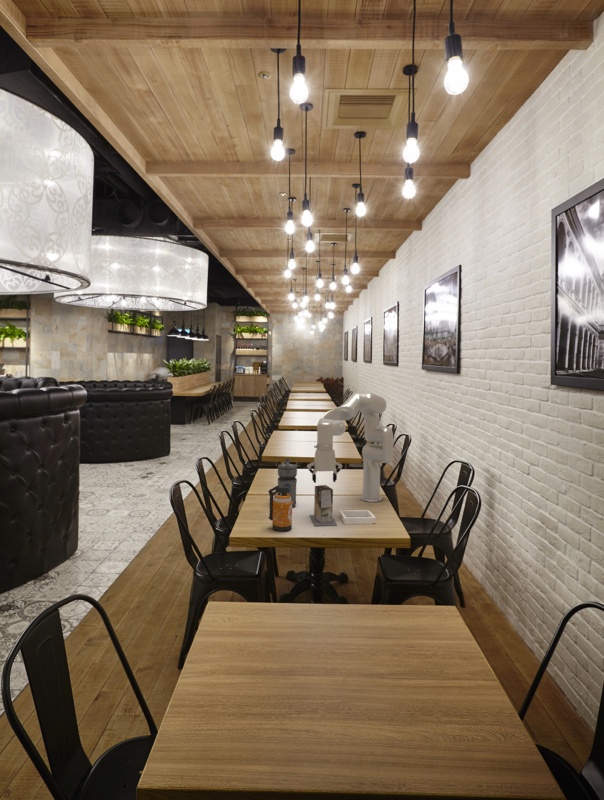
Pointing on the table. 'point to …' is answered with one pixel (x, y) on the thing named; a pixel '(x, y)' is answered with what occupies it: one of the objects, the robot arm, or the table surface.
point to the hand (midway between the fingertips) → (324, 481)
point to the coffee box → (323, 503)
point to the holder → (357, 517)
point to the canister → (280, 508)
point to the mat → (317, 523)
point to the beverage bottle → (288, 478)
